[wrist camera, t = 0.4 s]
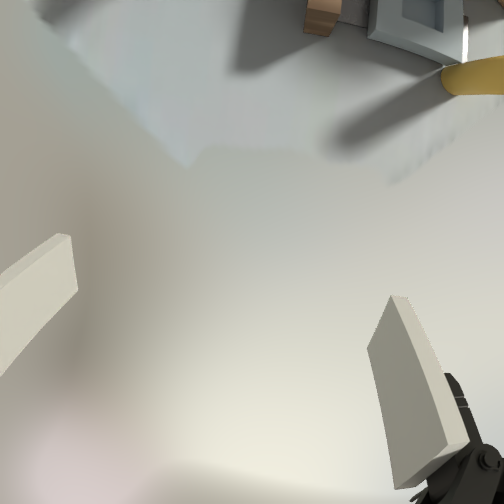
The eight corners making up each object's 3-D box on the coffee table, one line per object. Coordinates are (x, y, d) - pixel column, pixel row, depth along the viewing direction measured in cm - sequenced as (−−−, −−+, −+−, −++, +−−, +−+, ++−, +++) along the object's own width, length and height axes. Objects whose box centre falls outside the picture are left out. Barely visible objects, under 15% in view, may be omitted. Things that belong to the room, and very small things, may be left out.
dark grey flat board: (337, -30, 24) (337, -30, 24) (467, 17, 23) (468, 17, 23) (332, 20, 28) (332, 19, 27) (465, 65, 27) (466, 65, 27)
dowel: (442, 61, 27) (517, 44, 13) (466, 72, 27) (545, 65, 13) (439, 89, 29) (516, 84, 15) (463, 99, 29) (543, 103, 14)
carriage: (372, -31, 23) (380, -43, 19) (448, -2, 22) (462, -10, 19) (366, 38, 28) (375, 29, 24) (446, 66, 27) (461, 62, 23)
